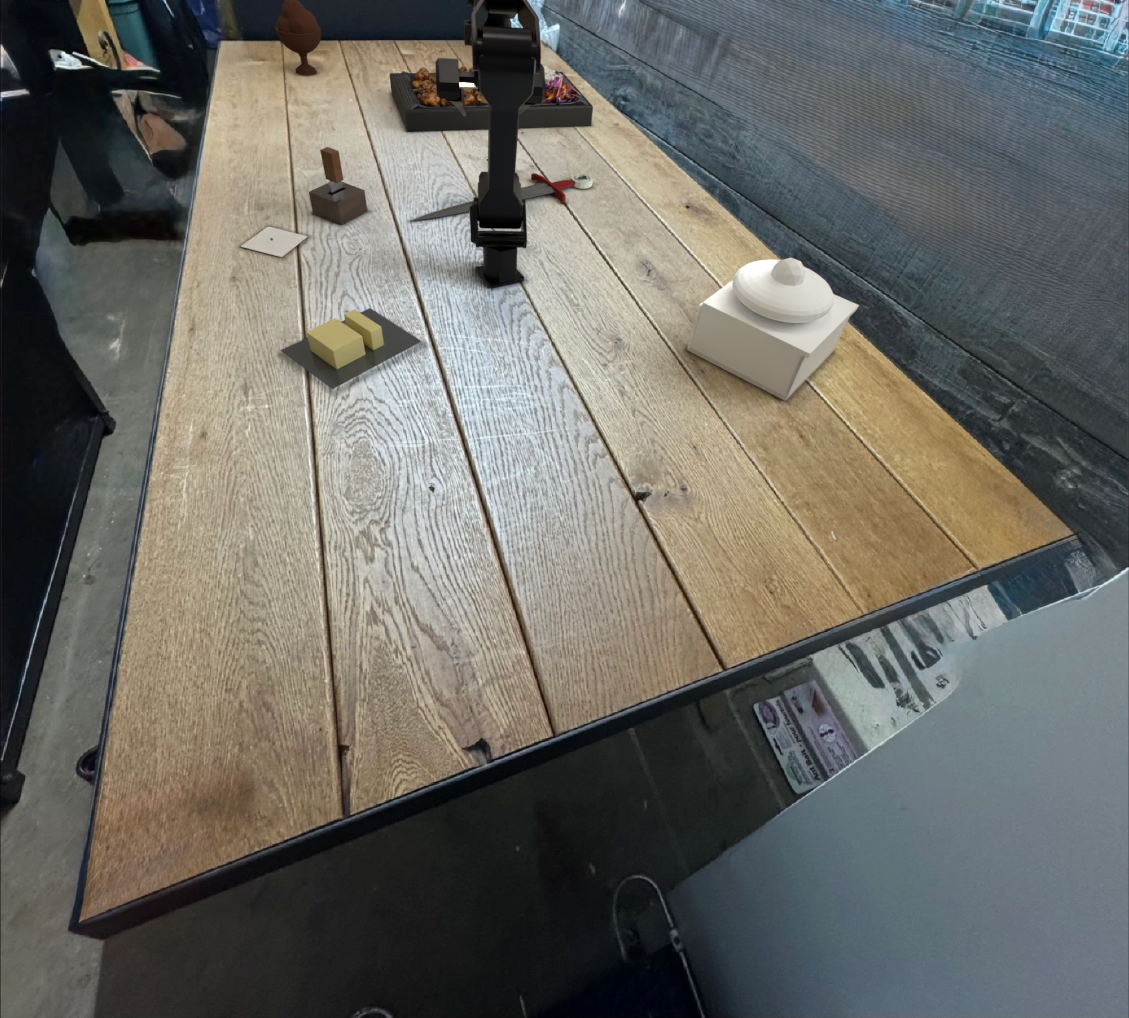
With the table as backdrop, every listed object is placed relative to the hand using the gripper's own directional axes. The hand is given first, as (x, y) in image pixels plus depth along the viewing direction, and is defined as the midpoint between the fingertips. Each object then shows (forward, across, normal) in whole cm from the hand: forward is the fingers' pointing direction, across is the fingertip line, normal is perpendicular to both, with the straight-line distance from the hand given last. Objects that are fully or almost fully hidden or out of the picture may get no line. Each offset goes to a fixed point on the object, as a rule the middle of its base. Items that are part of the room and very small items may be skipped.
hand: (489, 114), depth 121 cm
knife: (+7, +28, +16) cm, 33 cm away
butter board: (-16, +23, +51) cm, 58 cm away
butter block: (-18, +25, +52) cm, 60 cm away
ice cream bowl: (+50, +44, -48) cm, 82 cm away
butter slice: (-16, +21, +49) cm, 56 cm away
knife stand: (+7, +28, +16) cm, 33 cm away
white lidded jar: (-17, -40, +52) cm, 68 cm away
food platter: (+39, -3, -31) cm, 49 cm away
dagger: (+11, -4, +10) cm, 16 cm away
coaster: (+1, +38, +25) cm, 46 cm away
